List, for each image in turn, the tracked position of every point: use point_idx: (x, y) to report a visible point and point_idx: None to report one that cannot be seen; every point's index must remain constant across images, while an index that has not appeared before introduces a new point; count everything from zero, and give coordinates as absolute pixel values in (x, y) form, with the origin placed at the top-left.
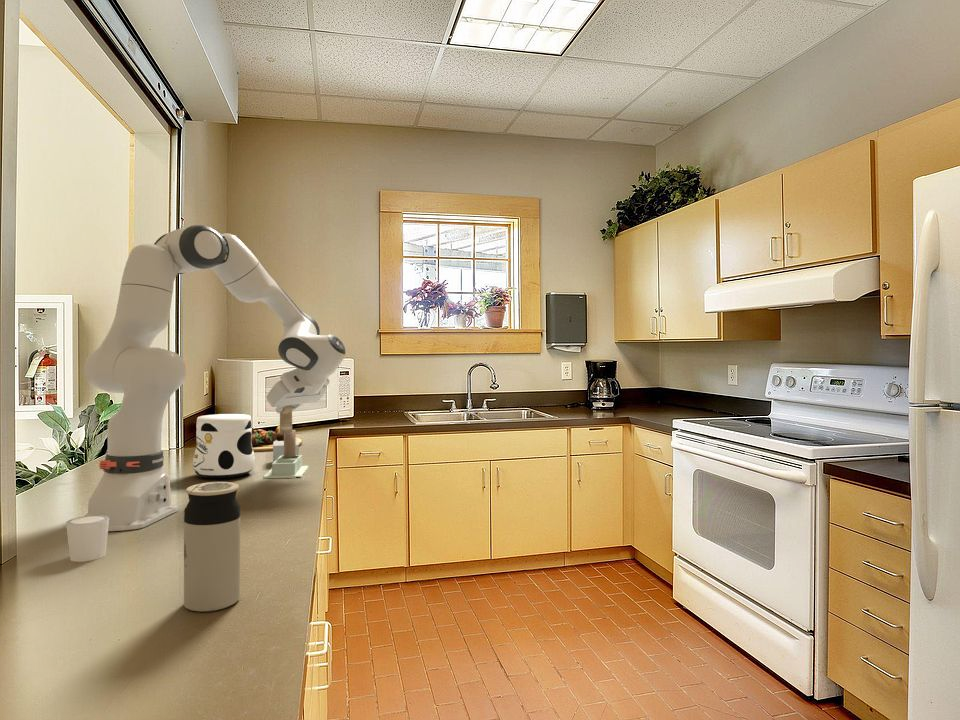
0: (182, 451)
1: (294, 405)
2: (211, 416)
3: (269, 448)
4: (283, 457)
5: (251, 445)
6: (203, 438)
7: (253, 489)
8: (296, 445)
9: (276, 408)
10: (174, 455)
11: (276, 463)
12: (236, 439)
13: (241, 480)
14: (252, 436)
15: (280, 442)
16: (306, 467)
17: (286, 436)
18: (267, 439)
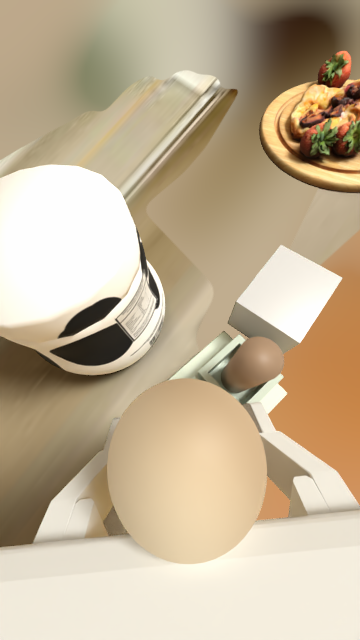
0: (208, 111)
1: (266, 456)
2: (15, 200)
3: (324, 181)
4: (240, 345)
5: (128, 335)
6: None
7: (34, 503)
8: (293, 339)
9: (110, 429)
10: (179, 128)
11: None
12: (42, 350)
13: (93, 389)
14: (312, 132)
15: (283, 272)
16: (269, 408)
17: (236, 368)
18: (343, 146)
